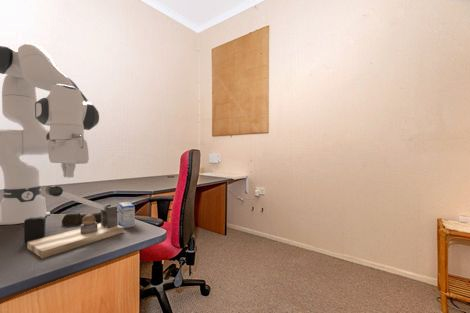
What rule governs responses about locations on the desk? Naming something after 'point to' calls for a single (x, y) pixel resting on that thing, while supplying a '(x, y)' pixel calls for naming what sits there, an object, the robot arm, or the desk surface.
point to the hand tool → (77, 218)
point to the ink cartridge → (34, 229)
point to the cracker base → (78, 235)
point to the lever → (72, 197)
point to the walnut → (88, 219)
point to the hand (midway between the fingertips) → (68, 177)
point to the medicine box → (126, 214)
